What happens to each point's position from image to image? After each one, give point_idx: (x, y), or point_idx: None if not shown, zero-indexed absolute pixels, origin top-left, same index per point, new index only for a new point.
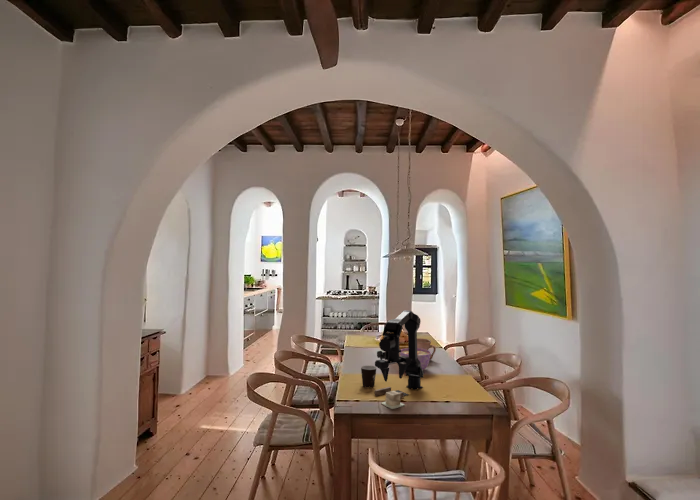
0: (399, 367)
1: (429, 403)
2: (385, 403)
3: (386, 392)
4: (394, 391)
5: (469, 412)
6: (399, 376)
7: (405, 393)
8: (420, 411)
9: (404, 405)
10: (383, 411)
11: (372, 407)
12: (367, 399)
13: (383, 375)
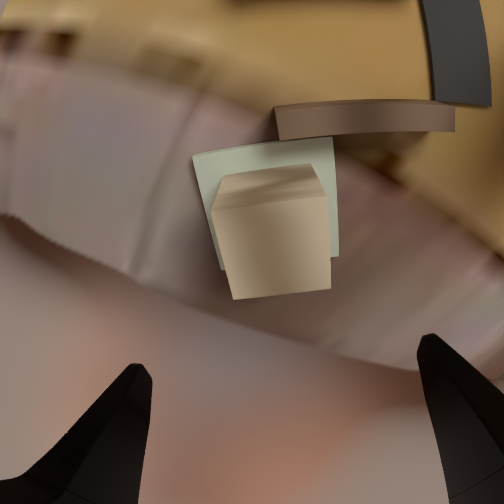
0: (496, 470)
1: (468, 275)
2: (217, 184)
3: (218, 215)
4: (318, 223)
5: None
6: (430, 357)
7: (486, 79)
8: (351, 336)
9: (335, 252)
10: (156, 270)
11: (111, 191)
12: (136, 31)
13: (85, 430)
